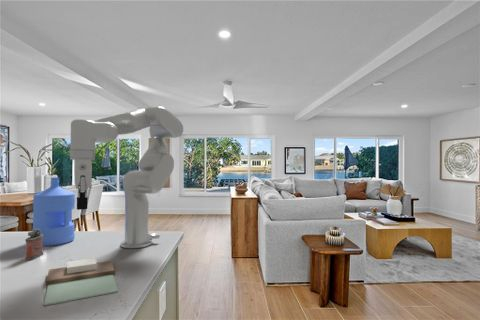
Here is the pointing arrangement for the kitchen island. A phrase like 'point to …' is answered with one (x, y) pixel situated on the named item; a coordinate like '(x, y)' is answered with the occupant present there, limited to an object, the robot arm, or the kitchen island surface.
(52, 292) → the mat
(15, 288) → the kitchen island surface
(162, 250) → the kitchen island surface
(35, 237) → the lighter
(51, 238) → the water jug
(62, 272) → the riser
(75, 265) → the tile
